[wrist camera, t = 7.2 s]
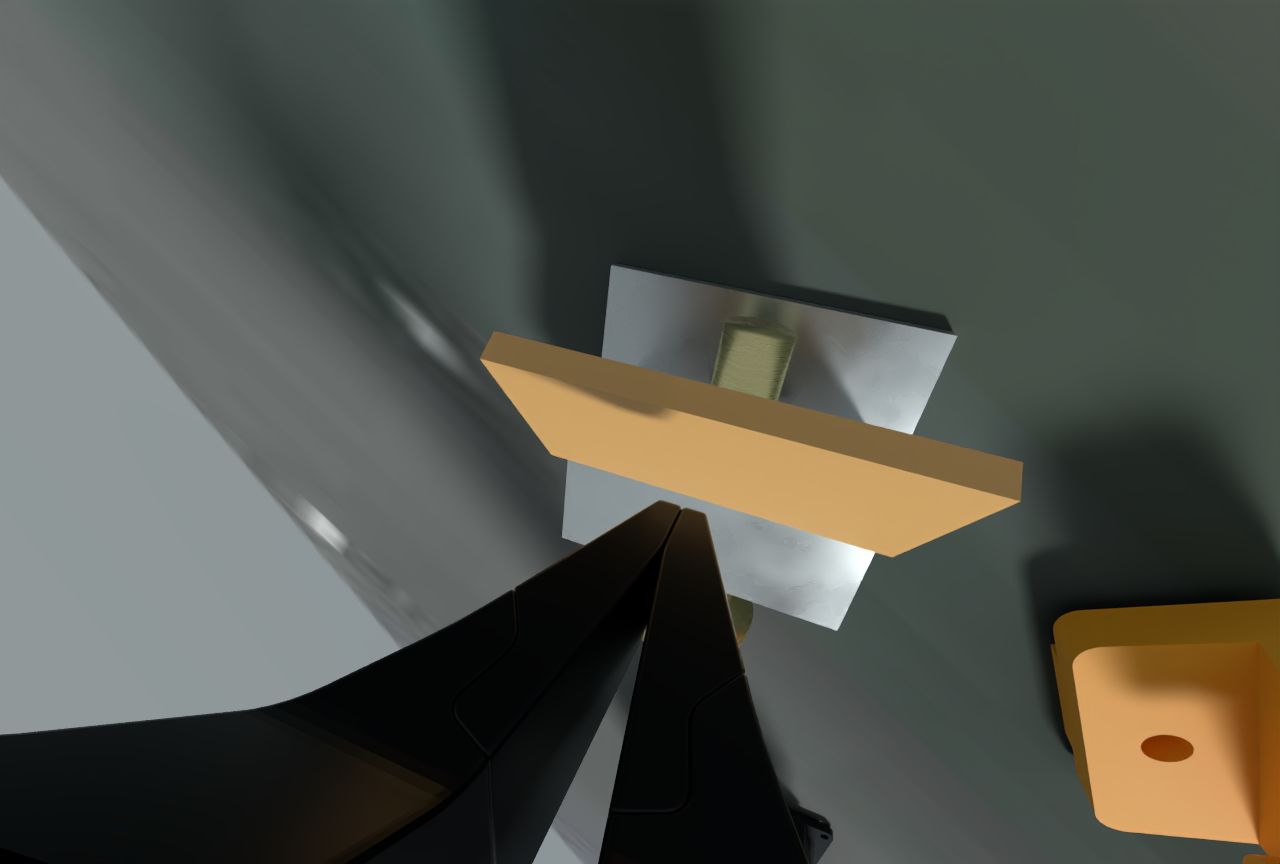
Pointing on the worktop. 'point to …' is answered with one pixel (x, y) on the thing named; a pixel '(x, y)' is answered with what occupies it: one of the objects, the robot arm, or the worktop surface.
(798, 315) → the hitch block
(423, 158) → the worktop surface
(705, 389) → the tan flat plate
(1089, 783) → the bracket
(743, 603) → the pin
